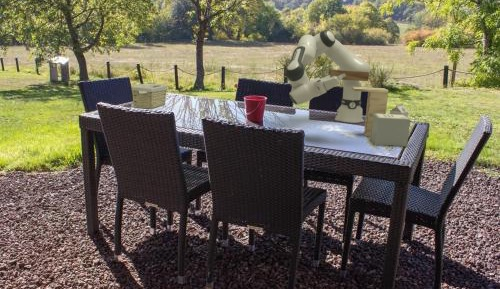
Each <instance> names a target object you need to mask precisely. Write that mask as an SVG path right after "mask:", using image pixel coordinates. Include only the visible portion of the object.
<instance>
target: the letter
mask: <svg viewBox="0 0 500 289" xmlns="http://www.w3.org/2000/svg"><path fill="white" fill-rule="evenodd" d="M376 115H377V116H378V117H380V118H392V119H408V118H409V117H408V118H406V117H405V116H404V115H396V114H390V113H386V114H376Z"/></svg>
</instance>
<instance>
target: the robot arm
mask: <svg viewBox="0 0 500 289" xmlns="http://www.w3.org/2000/svg"><path fill="white" fill-rule="evenodd" d="M323 54H324V55H325V56H327V58H329V59H330V61H332V62H333V63H334V64H335V65H337V66H338V67H339V69H338V70H348V71H365V72H369V74H370V73H371V67H370V65H369V63H368V62H366V61H364V60H363V59H362V58H360V57H359V56H357V55H356V54H355V53H353V52H352V51H350V50H349V49H347V47H345V46H344V44H342V43H341V42H340V41H339V40H338V39H336V37H335V34H334V33H333V32H332V31H331V30H330V29H329V30H328V29H324V30H321V31H320V32H319V33H317V34H315V35H314V36H313V35H311V34H304V35H302V36H301V37H300V39H299V41H298V43H297V46H296V48H294V50H293V53H292V55H291V58H290V61H289V63H288V64H287V66H286V68H285V70H284V74H285V76H286V78H287V79H288V81H289V83H290V85H291V91H290V92H289V93H288V96H289V98H290V100H291V101H292V102H293V104H294V105H296V106H298V105H302V104H305V103H307V102H308V101H309V102H310V101H311V100H312V99H313V98H317V97H319V96H322V95H324V94H326V93H327V91H330V89H331V90H332V89H334V88H335V87H336V86H338V85H339V84H340V80H341V79H342V78H344V77H345V76H346V75H345V73H343V74H341V75H339V76H337V77H336V76H333V77H330V74H329V75H326V76H325V77H321V78H320V76H318V77H316V78H313V79H311V80H310V78H309V77H308V74H307V72H306V70H305V66H304V65H309V64H311V63H313V62H314V60H315V59H317V57H319V56H322V55H323ZM342 83H343V90H342V99H341V103H340V105H339V107H338V109H336V113H337V115H336V116H335V118H334V121H337V122H338V121H339V122H342V123H343V122H344V123H351V124H354V123H365V119H363V108H362V107H361V106H362V105H361V104H362V99H361V96H362V91H354V90H353V89H352V87H362V85H361V83H360V81H356V80H342Z"/></svg>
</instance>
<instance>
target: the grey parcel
mask: <svg viewBox="0 0 500 289" xmlns="http://www.w3.org/2000/svg"><path fill="white" fill-rule="evenodd" d="M405 117H406V116H405ZM406 118H407V117H406ZM410 126H411V119H410V118H409V117H408V119H392V118H380V117H378V116H377V115H376V114H374V115H373V124H372V134H371V137H370V140H371V141H372V143H373V144H374V145H376V146H388V145H393V146H392V147H408V143H409V142H408V141H409V133H410Z"/></svg>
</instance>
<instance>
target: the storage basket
mask: <svg viewBox="0 0 500 289" xmlns="http://www.w3.org/2000/svg"><path fill="white" fill-rule="evenodd" d="M167 87H168V85H167V84H164V83H162V84H161V83H150V82H149V83H142V84H137V85H133V86H131V93H132V102H133V107H134V108H137V109H151V110H152V109H155V108H158V107H159V108H160V107H162V106H165V105H166V100H167V90H168V88H167Z"/></svg>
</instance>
